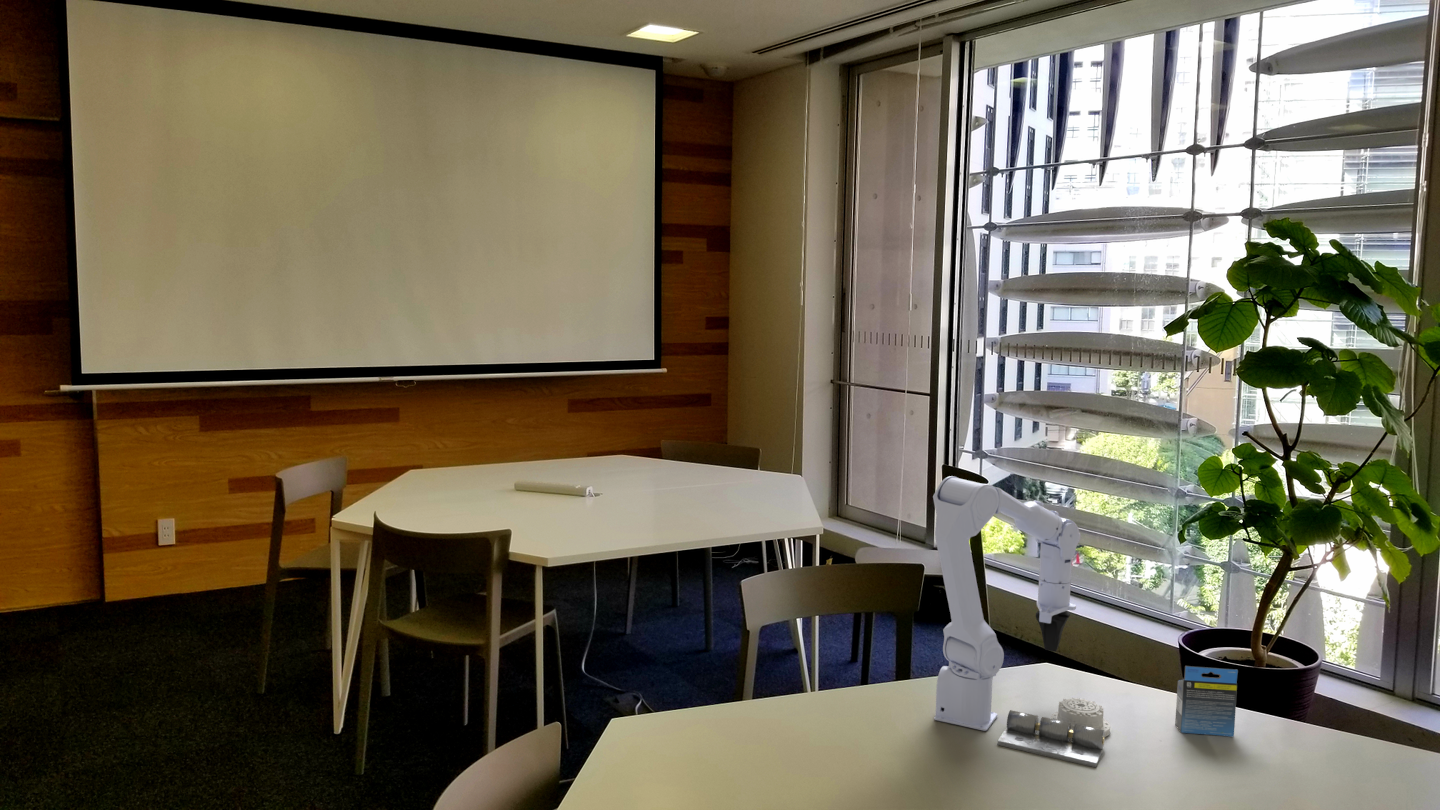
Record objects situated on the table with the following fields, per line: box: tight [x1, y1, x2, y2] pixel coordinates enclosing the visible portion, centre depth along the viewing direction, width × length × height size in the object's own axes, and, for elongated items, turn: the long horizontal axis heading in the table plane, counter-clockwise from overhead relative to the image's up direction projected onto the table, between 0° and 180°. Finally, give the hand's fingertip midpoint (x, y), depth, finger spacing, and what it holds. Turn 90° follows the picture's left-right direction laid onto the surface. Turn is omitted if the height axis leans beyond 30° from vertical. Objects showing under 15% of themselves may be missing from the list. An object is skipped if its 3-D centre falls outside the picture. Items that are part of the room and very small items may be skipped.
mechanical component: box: [1050, 697, 1111, 738], centre depth 182 cm, size 10×4×10 cm
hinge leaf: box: [997, 709, 1106, 768], centre depth 175 cm, size 16×9×4 cm, turn 60°
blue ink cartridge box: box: [1174, 665, 1239, 738], centre depth 181 cm, size 9×4×12 cm, turn 80°
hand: (1051, 649), depth 195 cm, fingers closed
